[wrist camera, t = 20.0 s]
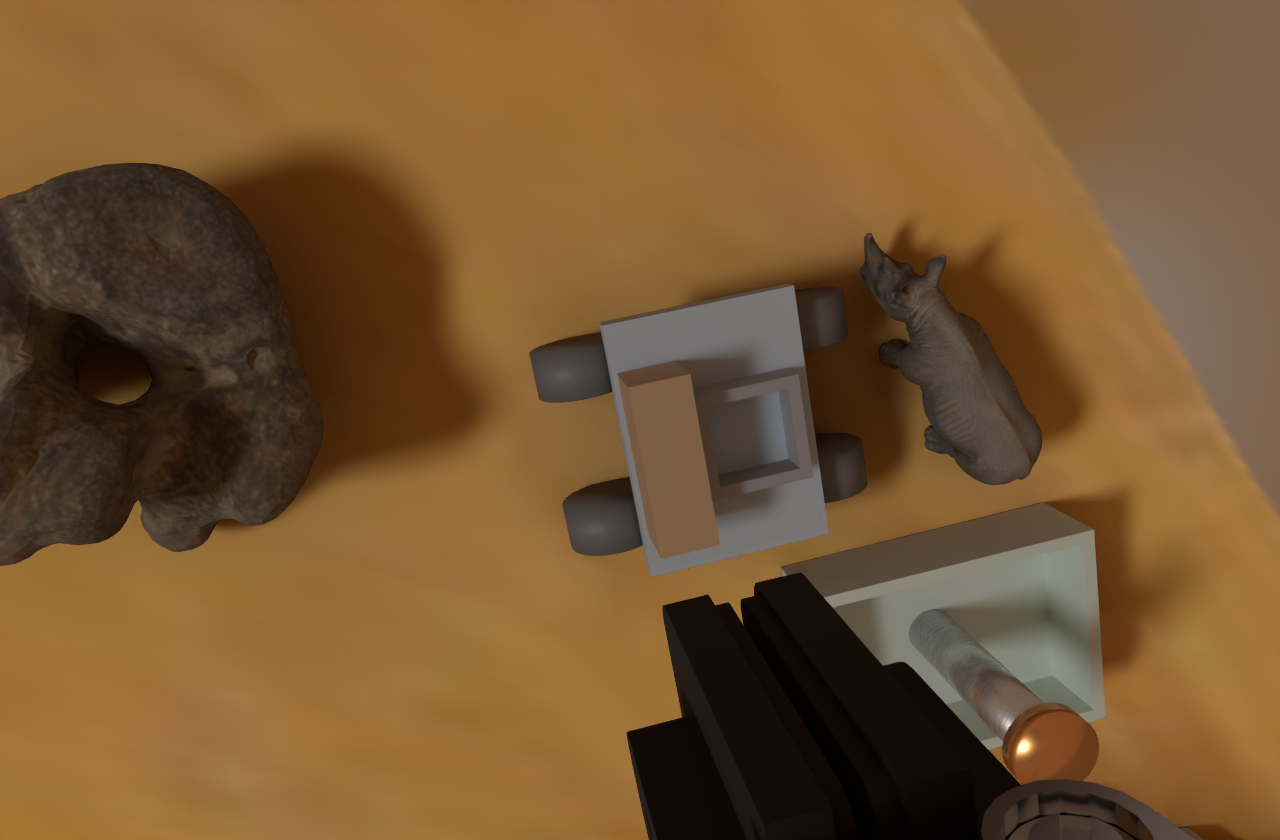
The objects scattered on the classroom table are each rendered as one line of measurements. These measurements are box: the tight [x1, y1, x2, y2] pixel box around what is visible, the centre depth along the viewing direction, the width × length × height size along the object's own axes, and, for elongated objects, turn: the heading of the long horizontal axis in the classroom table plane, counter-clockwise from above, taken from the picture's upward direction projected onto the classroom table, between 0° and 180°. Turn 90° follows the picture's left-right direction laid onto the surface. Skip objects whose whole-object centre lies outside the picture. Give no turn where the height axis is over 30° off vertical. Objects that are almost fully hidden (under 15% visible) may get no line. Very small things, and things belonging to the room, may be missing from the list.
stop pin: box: [909, 609, 1099, 785], centre depth 42 cm, size 4×4×11 cm
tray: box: [781, 503, 1106, 750], centre depth 46 cm, size 10×14×4 cm
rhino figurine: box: [860, 233, 1042, 485], centre depth 42 cm, size 4×14×6 cm, turn 33°
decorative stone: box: [0, 163, 323, 566], centre depth 35 cm, size 16×11×15 cm
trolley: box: [530, 283, 867, 577], centre depth 40 cm, size 11×14×8 cm
